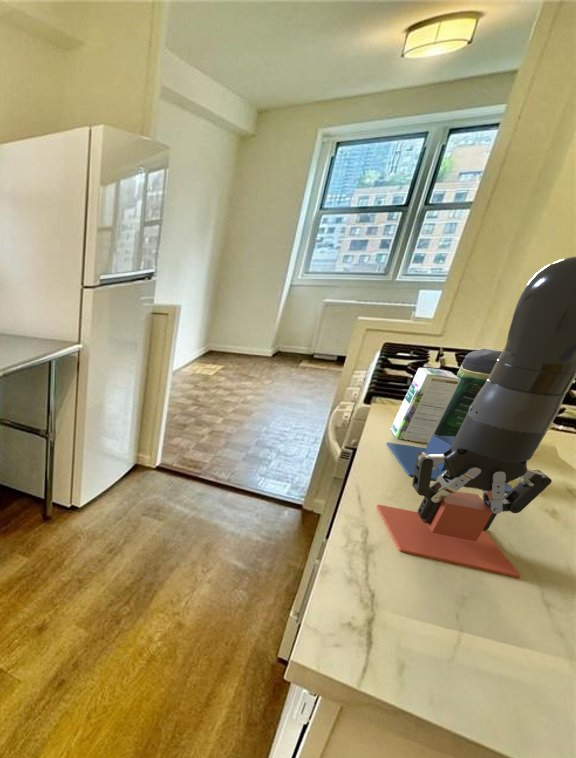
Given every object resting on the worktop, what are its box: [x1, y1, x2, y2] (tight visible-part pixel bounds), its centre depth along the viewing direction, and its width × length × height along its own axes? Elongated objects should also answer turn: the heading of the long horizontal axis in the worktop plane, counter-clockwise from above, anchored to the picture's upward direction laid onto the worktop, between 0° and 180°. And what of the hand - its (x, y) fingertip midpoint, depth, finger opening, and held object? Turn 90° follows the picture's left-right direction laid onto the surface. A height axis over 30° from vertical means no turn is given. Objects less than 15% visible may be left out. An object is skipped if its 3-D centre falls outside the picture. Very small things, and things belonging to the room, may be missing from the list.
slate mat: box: [386, 441, 514, 494], centre depth 92 cm, size 15×15×1 cm
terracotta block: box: [426, 490, 493, 541], centre depth 70 cm, size 5×5×5 cm
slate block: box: [425, 434, 456, 471], centre depth 91 cm, size 5×5×5 cm
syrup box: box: [390, 367, 461, 444], centre depth 101 cm, size 6×6×14 cm
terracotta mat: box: [376, 504, 522, 579], centre depth 72 cm, size 13×13×1 cm
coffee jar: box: [433, 348, 503, 436], centre depth 101 cm, size 10×8×19 cm
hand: (449, 525), depth 71 cm, fingers closed on terracotta block, 5 cm apart
